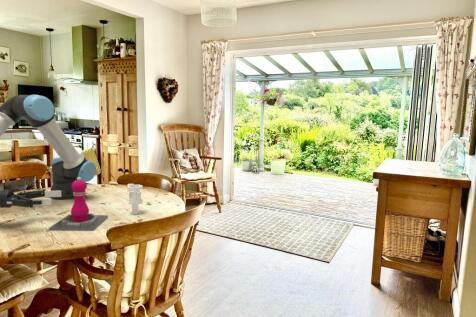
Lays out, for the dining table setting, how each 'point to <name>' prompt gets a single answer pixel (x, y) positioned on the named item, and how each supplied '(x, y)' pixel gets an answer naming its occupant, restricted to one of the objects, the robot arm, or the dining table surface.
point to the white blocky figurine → (135, 197)
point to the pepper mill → (79, 201)
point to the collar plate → (79, 223)
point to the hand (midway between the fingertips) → (56, 197)
